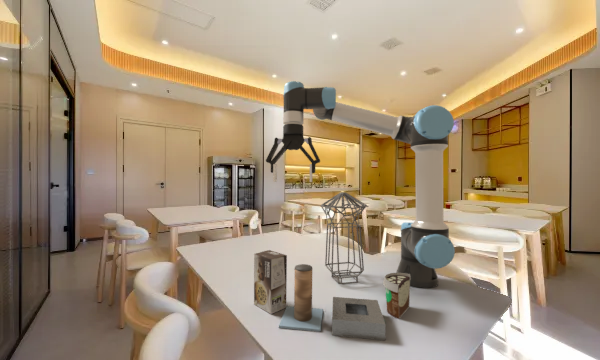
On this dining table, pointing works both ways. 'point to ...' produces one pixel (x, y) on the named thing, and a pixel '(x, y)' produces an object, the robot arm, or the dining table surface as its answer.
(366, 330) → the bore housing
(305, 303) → the wooden cylinder
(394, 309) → the food container
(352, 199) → the geometric lantern
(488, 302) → the dining table surface
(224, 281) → the dining table surface
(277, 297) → the coffee box
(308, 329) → the light blue square plate
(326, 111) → the robot arm
